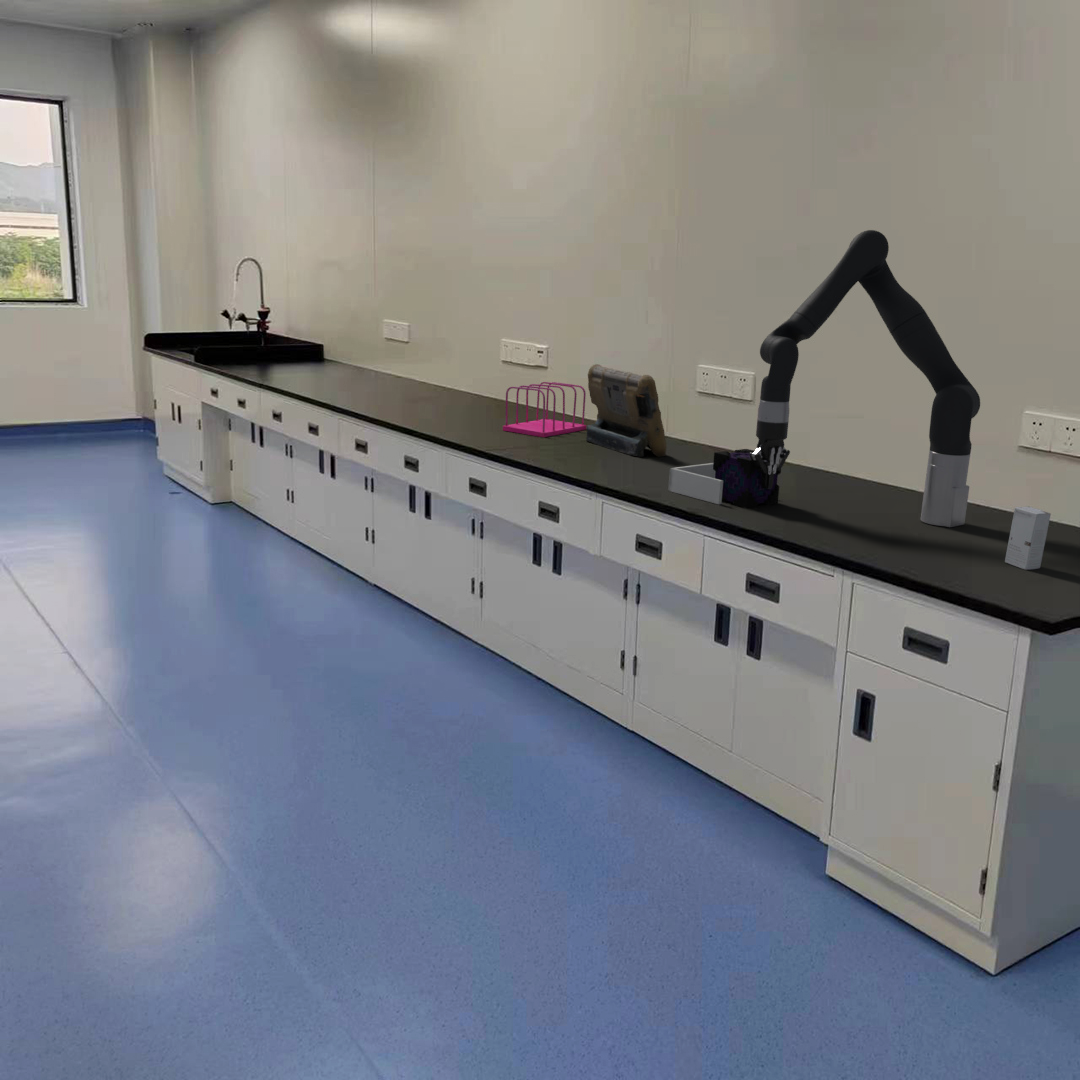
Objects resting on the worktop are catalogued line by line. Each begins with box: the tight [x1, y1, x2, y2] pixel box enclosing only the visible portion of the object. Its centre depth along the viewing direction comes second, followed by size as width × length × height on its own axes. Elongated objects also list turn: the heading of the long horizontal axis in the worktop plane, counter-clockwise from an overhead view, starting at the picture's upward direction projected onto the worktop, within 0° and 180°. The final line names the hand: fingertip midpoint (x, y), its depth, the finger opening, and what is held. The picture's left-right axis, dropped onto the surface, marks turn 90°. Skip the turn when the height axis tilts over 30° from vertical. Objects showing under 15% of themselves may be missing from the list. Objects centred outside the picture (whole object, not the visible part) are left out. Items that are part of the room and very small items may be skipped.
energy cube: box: [712, 448, 782, 509], centre depth 283 cm, size 12×12×12 cm
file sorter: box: [502, 381, 587, 438], centre depth 379 cm, size 17×25×16 cm
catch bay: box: [667, 462, 723, 505], centre depth 291 cm, size 18×18×6 cm
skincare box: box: [1004, 505, 1052, 571], centre depth 233 cm, size 6×4×12 cm
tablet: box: [586, 363, 667, 458], centre depth 349 cm, size 33×14×25 cm, turn 35°
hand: (766, 488), depth 278 cm, fingers closed
